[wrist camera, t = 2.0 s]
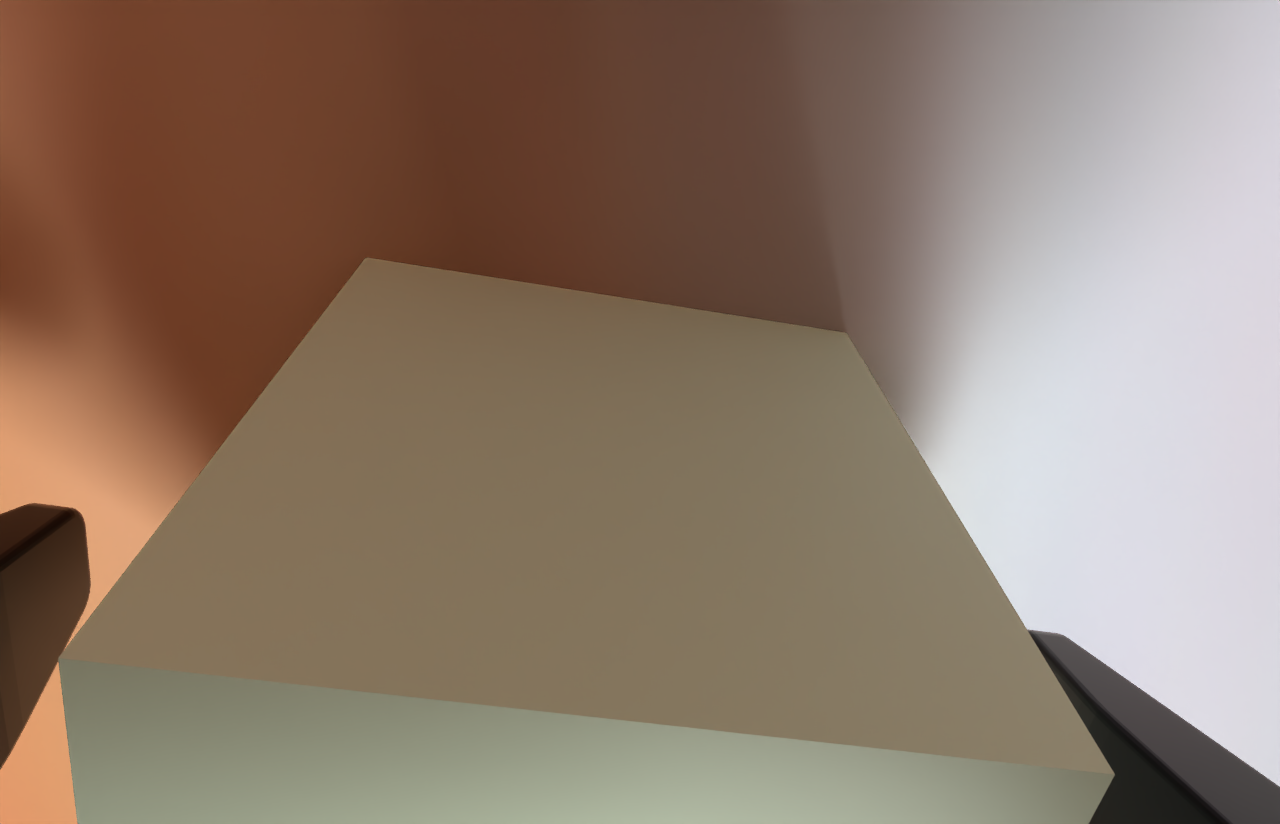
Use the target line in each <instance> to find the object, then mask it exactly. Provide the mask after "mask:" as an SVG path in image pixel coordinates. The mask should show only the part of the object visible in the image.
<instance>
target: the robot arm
mask: <svg viewBox="0 0 1280 824" xmlns="http://www.w3.org/2000/svg"><path fill="white" fill-rule="evenodd" d="M90 585H91V583H90V569H89V559H88V548H87V537H86V527H85V522H84V518H83V516H82V514H81V513H80V512H79V511H77V510H76V509H74V508H69V507H61V506H54V505H46V504H38V503H32V504H27V505H24V506H21V507H18V508H16V509H13V510H10V511H8V512H5V513H2V514H0V769H1V768H2V766H3V765H4V763H5V761H6V760H7V758H8V757H9V755H10V753H11V751H12V750H13V748H14V746H15V744H16V742H17V740H18V739H19V737H20V735H21V733H22V731H23V729H24V728H25V726H26V724H27V722H28V720H29V718H30V716H31V714H32V712H33V710H34V708H35V706H36V704H37V702H38V700H39V698H40V696H41V694H42V692H43V690H44V688H45V686H46V684H47V682H48V680H49V678H50V676H51V674H52V672H53V671H54V669H55V667H56V665H57V663H58V658H59V656H60V655H61V654H62V652H63V651H64V649H65V647H66V645H67V643H68V641H69V639H70V637H71V635H72V633H73V631H74V629H75V627H76V625H77V623H78V621H79V619H80V617H81V615H82V614H83V612H84V609H85V607H86V604H87V601H88V598H89V593H90ZM1027 631H1028V632H1029V634H1030V636H1031V637H1032V639H1033V640H1034V642H1035V644H1036V645H1037V647H1038V649H1039V650H1040V652H1041V654H1042V655H1043V657H1044V659H1045V660H1046V662H1047V663H1048V665H1049V667H1050V668H1051V670H1052V672H1053V673H1054V675H1055V677H1056V678H1057V680H1058V682H1059V683H1060V685H1061V687H1062V688H1063V690H1064V691H1065V693H1066V695H1067V696H1068V698H1069V700H1070V701H1071V703H1072V705H1073V706H1074V708H1075V710H1076V711H1077V713H1078V714H1079V716H1080V718H1081V719H1082V721H1083V723H1084V724H1085V726H1086V728H1087V729H1088V731H1089V733H1090V734H1091V736H1092V737H1093V739H1094V741H1095V742H1096V744H1097V746H1098V747H1099V749H1100V751H1101V752H1102V754H1103V756H1104V757H1105V759H1106V761H1107V762H1108V764H1109V765H1110V767H1111V769H1112V770H1113V772H1114V774H1115V776H1114V777H1113V779H1112V781H1111V783H1110V785H1109V787H1108V789H1107V790H1106V792H1105V794H1104V796H1103V798H1102V800H1101V802H1100V803H1099V805H1098V807H1097V809H1096V811H1095V813H1094V815H1093V816H1092V818H1091V820H1090V822H1089V824H1280V787H1279V786H1278V785H1276V784H1275V783H1274V782H1272V781H1271V780H1269V779H1268V778H1266V777H1265V776H1264V775H1262V774H1261V773H1259V772H1258V771H1256V770H1255V769H1254V768H1252V767H1251V766H1249V765H1248V764H1246V763H1245V762H1244V761H1242V760H1241V759H1239V758H1238V757H1237V756H1235V755H1234V754H1232V753H1231V752H1229V751H1228V750H1227V749H1225V748H1224V747H1222V746H1221V745H1219V744H1218V743H1217V742H1215V741H1214V740H1212V739H1211V738H1209V737H1208V736H1207V735H1205V734H1204V733H1202V732H1201V731H1200V730H1198V729H1197V728H1195V727H1194V726H1192V725H1191V724H1190V723H1188V722H1187V721H1185V720H1184V719H1182V718H1181V717H1180V716H1178V715H1177V714H1175V713H1174V712H1172V711H1171V710H1170V709H1168V708H1167V707H1165V706H1164V705H1162V704H1161V703H1160V702H1158V701H1157V700H1155V699H1154V698H1153V697H1151V696H1150V695H1148V694H1147V693H1145V692H1144V691H1143V690H1141V689H1140V688H1138V687H1137V686H1135V685H1134V684H1133V683H1131V682H1130V681H1128V680H1127V679H1125V678H1124V677H1123V676H1121V675H1120V674H1118V673H1117V672H1115V671H1114V670H1113V669H1111V668H1110V667H1108V666H1107V665H1106V664H1104V663H1103V662H1101V661H1100V660H1098V659H1097V658H1096V657H1094V656H1093V655H1091V654H1090V653H1088V652H1087V651H1086V650H1084V649H1083V648H1081V647H1080V646H1078V645H1077V644H1076V643H1074V642H1073V641H1071V640H1070V639H1069V638H1067V637H1065V636H1064V635H1061V634H1058V633H1051V632H1043V631H1035V630H1027Z"/></svg>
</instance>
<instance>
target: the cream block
mask: <svg viewBox="0 0 1280 824" xmlns="http://www.w3.org/2000/svg"><path fill="white" fill-rule="evenodd" d="M58 661H59V670H60V678H61V687H62V695H63V704H64V712H65V721H66V729H67V738H68V746H69V755H70V763H71V772H72V780H73V789H74V797H75V806H76V814H77V823H78V824H1089V822H1090V820H1091V818H1092V816H1093V815H1094V813H1095V811H1096V809H1097V807H1098V805H1099V803H1100V802H1101V800H1102V798H1103V796H1104V794H1105V792H1106V790H1107V789H1108V787H1109V785H1110V783H1111V781H1112V779H1113V777H1114V776H1115V774H1114V772H1113V770H1112V769H1111V767H1110V765H1109V764H1108V762H1107V761H1106V759H1105V757H1104V756H1103V754H1102V752H1101V751H1100V749H1099V747H1098V746H1097V744H1096V742H1095V741H1094V739H1093V737H1092V736H1091V734H1090V733H1089V731H1088V729H1087V728H1086V726H1085V724H1084V723H1083V721H1082V719H1081V718H1080V716H1079V714H1078V713H1077V711H1076V710H1075V708H1074V706H1073V705H1072V703H1071V701H1070V700H1069V698H1068V696H1067V695H1066V693H1065V691H1064V690H1063V688H1062V687H1061V685H1060V683H1059V682H1058V680H1057V678H1056V677H1055V675H1054V673H1053V672H1052V670H1051V668H1050V667H1049V665H1048V663H1047V662H1046V660H1045V659H1044V657H1043V655H1042V654H1041V652H1040V650H1039V649H1038V647H1037V645H1036V644H1035V642H1034V640H1033V639H1032V637H1031V636H1030V634H1029V632H1028V631H1027V629H1026V627H1025V626H1024V624H1023V622H1022V621H1021V619H1020V617H1019V616H1018V614H1017V612H1016V611H1015V609H1014V608H1013V606H1012V604H1011V603H1010V601H1009V599H1008V598H1007V596H1006V594H1005V593H1004V591H1003V589H1002V588H1001V586H1000V585H999V583H998V581H997V580H996V578H995V576H994V575H993V573H992V571H991V570H990V568H989V566H988V565H987V563H986V561H985V560H984V558H983V557H982V555H981V553H980V552H979V550H978V548H977V547H976V545H975V543H974V542H973V540H972V538H971V537H970V535H969V534H968V532H967V530H966V529H965V527H964V525H963V524H962V522H961V520H960V519H959V517H958V515H957V514H956V512H955V510H954V509H953V507H952V506H951V504H950V502H949V501H948V499H947V497H946V496H945V494H944V492H943V491H942V489H941V487H940V486H939V484H938V483H937V481H936V479H935V478H934V476H933V474H932V473H931V471H930V469H929V468H928V466H927V464H926V463H925V461H924V460H923V458H922V456H921V455H920V453H919V451H918V450H917V448H916V446H915V445H914V443H913V441H912V440H911V438H910V436H909V435H908V433H907V432H906V430H905V428H904V427H903V425H902V423H901V422H900V420H899V418H898V417H897V415H896V413H895V412H894V410H893V409H892V407H891V405H890V404H889V402H888V400H887V399H886V397H885V395H884V394H883V392H882V390H881V389H880V387H879V385H878V384H877V382H876V381H875V379H874V377H873V376H872V374H871V372H870V371H869V369H868V367H867V366H866V364H865V362H864V361H863V359H862V358H861V356H860V354H859V353H858V351H857V349H856V348H855V346H854V344H853V343H852V341H851V339H850V338H849V336H848V334H847V333H845V332H839V331H833V330H826V329H820V328H814V327H807V326H801V325H795V324H788V323H782V322H775V321H769V320H763V319H756V318H750V317H744V316H737V315H731V314H724V313H718V312H712V311H705V310H699V309H693V308H686V307H680V306H674V305H667V304H661V303H654V302H648V301H642V300H635V299H629V298H623V297H616V296H610V295H603V294H597V293H591V292H584V291H578V290H572V289H565V288H559V287H552V286H546V285H540V284H533V283H527V282H521V281H514V280H508V279H502V278H495V277H489V276H482V275H476V274H470V273H463V272H457V271H451V270H444V269H438V268H431V267H425V266H419V265H412V264H406V263H400V262H393V261H387V260H380V259H374V258H368V257H366V258H365V259H364V260H363V262H362V263H361V264H360V266H359V267H358V268H357V269H356V271H355V272H354V273H353V275H352V276H351V277H350V279H349V280H348V281H347V282H346V284H345V285H344V286H343V288H342V289H341V290H340V292H339V293H338V294H337V295H336V297H335V298H334V299H333V301H332V302H331V303H330V305H329V306H328V307H327V308H326V310H325V311H324V312H323V314H322V315H321V316H320V318H319V319H318V320H317V322H316V323H315V324H314V325H313V327H312V328H311V329H310V331H309V332H308V333H307V335H306V336H305V337H304V338H303V340H302V341H301V342H300V344H299V345H298V346H297V348H296V349H295V350H294V351H293V353H292V354H291V355H290V357H289V358H288V359H287V361H286V362H285V363H284V365H283V366H282V367H281V368H280V370H279V371H278V372H277V374H276V375H275V376H274V378H273V379H272V380H271V381H270V383H269V384H268V385H267V387H266V388H265V389H264V391H263V392H262V393H261V394H260V396H259V397H258V398H257V400H256V401H255V402H254V404H253V405H252V406H251V407H250V409H249V410H248V411H247V413H246V414H245V415H244V417H243V418H242V419H241V421H240V422H239V423H238V424H237V426H236V427H235V428H234V430H233V431H232V432H231V434H230V435H229V436H228V437H227V439H226V440H225V441H224V443H223V444H222V445H221V447H220V448H219V449H218V450H217V452H216V453H215V454H214V456H213V457H212V458H211V460H210V461H209V462H208V464H207V465H206V466H205V467H204V469H203V470H202V471H201V473H200V474H199V475H198V477H197V478H196V479H195V480H194V482H193V483H192V484H191V486H190V487H189V488H188V490H187V491H186V492H185V493H184V495H183V496H182V497H181V499H180V500H179V501H178V503H177V504H176V505H175V506H174V508H173V509H172V510H171V512H170V513H169V514H168V516H167V517H166V518H165V520H164V521H163V522H162V523H161V525H160V526H159V527H158V529H157V530H156V531H155V533H154V534H153V535H152V536H151V538H150V539H149V540H148V542H147V543H146V544H145V546H144V547H143V548H142V549H141V551H140V552H139V553H138V555H137V556H136V557H135V559H134V560H133V561H132V562H131V564H130V565H129V566H128V568H127V569H126V570H125V572H124V573H123V574H122V576H121V577H120V578H119V579H118V581H117V582H116V583H115V585H114V586H113V587H112V589H111V590H110V591H109V592H108V594H107V595H106V596H105V598H104V599H103V600H102V602H101V603H100V604H99V605H98V607H97V608H96V609H95V611H94V612H93V613H92V615H91V616H90V617H89V619H88V620H87V621H86V622H85V624H84V625H83V626H82V628H81V629H80V630H79V632H78V633H77V634H76V635H75V637H74V638H73V639H72V641H71V642H70V643H69V645H68V646H67V647H66V648H65V650H64V651H63V652H62V654H61V655H60V656H59V658H58Z"/></svg>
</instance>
